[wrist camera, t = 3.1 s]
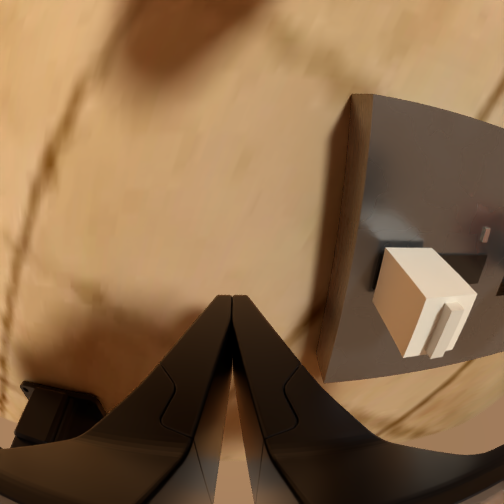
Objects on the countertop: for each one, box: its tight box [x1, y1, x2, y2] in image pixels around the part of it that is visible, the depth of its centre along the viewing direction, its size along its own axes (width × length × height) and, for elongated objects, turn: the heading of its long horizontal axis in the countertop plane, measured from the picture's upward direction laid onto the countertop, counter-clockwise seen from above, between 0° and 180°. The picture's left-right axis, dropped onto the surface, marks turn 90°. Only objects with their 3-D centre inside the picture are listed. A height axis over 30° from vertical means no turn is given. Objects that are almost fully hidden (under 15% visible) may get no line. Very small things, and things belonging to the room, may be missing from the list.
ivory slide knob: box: [372, 247, 477, 359], centre depth 9 cm, size 2×2×3 cm
